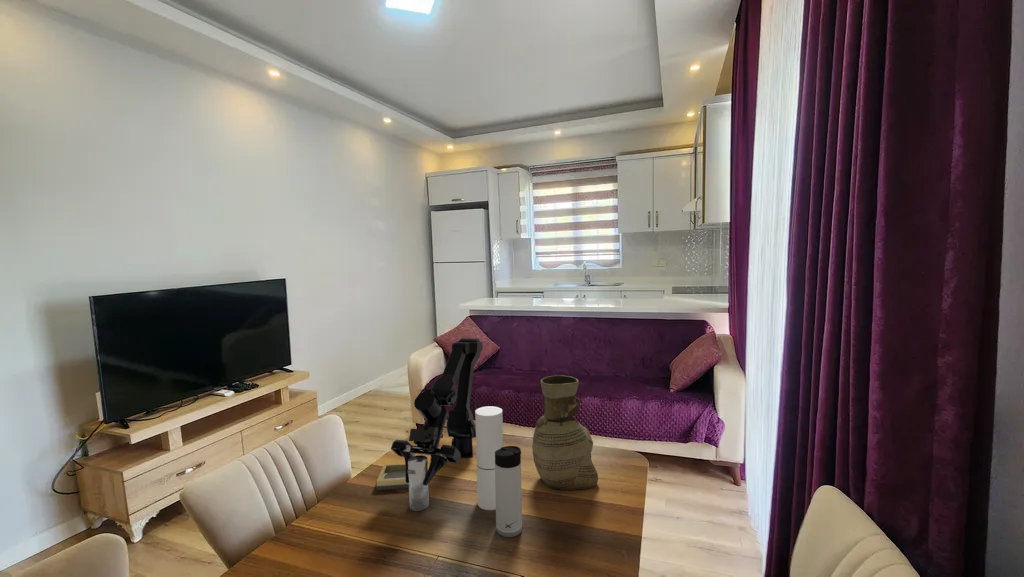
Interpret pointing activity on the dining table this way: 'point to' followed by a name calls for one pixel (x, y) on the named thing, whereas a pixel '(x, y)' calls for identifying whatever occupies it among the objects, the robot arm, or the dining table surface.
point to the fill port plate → (392, 477)
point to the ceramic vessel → (563, 438)
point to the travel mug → (508, 491)
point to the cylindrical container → (487, 453)
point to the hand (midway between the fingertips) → (415, 484)
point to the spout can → (418, 483)
